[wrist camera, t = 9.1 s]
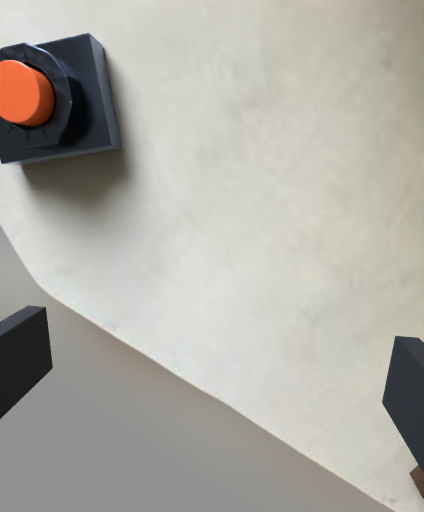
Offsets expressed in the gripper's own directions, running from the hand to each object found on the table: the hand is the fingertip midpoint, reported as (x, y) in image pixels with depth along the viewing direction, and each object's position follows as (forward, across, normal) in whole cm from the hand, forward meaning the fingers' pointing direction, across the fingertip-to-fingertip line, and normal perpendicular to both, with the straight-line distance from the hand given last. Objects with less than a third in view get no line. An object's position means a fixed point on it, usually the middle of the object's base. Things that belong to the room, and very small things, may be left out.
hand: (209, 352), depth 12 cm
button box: (+17, -16, +12) cm, 26 cm away
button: (+13, -16, +12) cm, 24 cm away
